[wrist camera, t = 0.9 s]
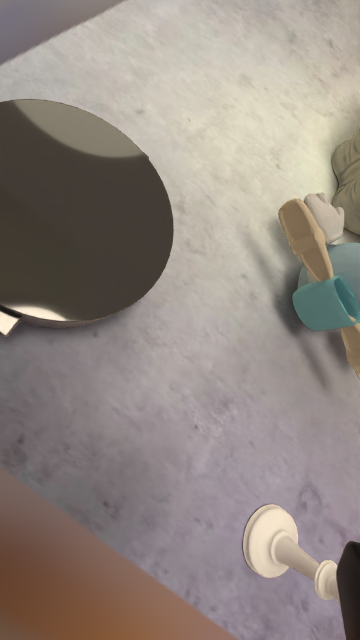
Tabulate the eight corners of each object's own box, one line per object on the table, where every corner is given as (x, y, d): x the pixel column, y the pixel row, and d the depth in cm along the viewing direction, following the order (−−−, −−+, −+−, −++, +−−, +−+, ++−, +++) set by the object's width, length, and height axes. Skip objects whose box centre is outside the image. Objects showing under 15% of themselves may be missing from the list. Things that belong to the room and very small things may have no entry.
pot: (77, 382, 21) (90, 385, 16) (-120, 264, 18) (-173, 227, 13) (181, 226, 26) (212, 195, 22) (44, 111, 23) (47, 47, 18)
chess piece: (231, 548, 24) (352, 655, 15) (266, 490, 26) (392, 554, 17) (270, 588, 24) (408, 712, 16) (301, 529, 26) (439, 609, 18)
